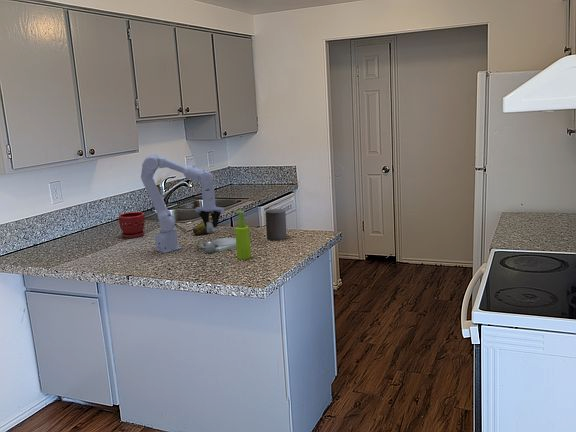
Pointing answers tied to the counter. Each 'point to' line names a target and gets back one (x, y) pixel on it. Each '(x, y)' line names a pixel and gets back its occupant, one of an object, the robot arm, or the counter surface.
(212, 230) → the cylinder
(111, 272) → the counter surface
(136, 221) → the plant pot
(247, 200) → the counter surface
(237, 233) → the soap dispenser
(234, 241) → the scale
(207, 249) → the cylinder
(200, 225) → the potato
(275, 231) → the pillar candle
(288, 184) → the counter surface
